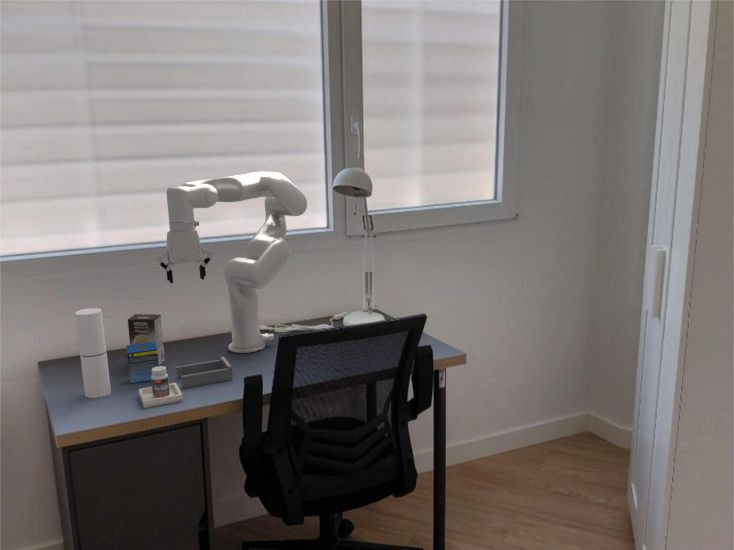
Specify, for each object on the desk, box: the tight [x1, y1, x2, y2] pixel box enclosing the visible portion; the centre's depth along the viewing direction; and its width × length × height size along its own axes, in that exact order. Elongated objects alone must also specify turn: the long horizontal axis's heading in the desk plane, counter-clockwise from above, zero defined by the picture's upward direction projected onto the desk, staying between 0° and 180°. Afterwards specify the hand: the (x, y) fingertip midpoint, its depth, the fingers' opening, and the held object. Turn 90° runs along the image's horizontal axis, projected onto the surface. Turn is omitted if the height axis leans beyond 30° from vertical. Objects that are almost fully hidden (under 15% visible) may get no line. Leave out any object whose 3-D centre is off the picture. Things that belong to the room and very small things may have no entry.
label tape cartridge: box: [125, 342, 160, 384], centre depth 218 cm, size 9×4×12 cm, turn 108°
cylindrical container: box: [74, 307, 112, 399], centre depth 206 cm, size 7×7×25 cm
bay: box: [175, 356, 233, 389], centre depth 218 cm, size 15×10×4 cm, turn 114°
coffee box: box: [127, 313, 166, 366], centre depth 232 cm, size 9×6×16 cm
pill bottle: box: [150, 365, 170, 399], centre depth 203 cm, size 5×5×8 cm
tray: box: [138, 382, 184, 409], centre depth 204 cm, size 11×11×2 cm
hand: (186, 280), depth 224 cm, fingers open, 9 cm apart
